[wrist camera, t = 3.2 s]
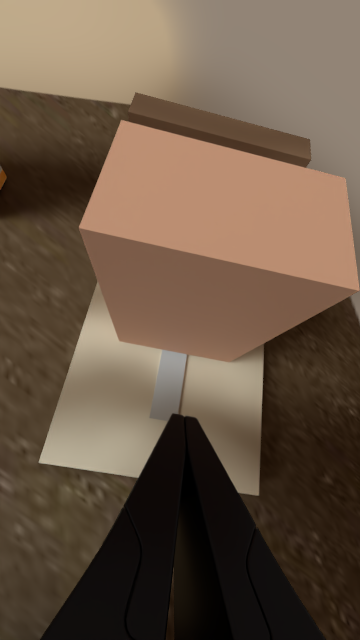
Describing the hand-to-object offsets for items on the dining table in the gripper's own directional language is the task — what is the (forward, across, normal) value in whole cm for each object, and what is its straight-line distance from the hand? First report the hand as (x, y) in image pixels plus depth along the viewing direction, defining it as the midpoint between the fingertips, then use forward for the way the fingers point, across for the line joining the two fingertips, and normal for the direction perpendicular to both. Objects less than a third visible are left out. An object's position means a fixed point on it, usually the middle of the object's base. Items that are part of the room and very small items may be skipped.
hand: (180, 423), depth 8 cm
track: (+10, 0, +1) cm, 10 cm away
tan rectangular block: (+8, 0, 0) cm, 8 cm away
